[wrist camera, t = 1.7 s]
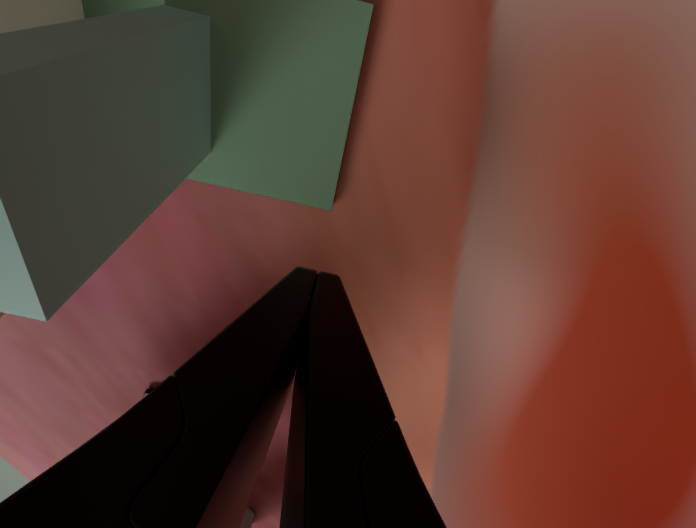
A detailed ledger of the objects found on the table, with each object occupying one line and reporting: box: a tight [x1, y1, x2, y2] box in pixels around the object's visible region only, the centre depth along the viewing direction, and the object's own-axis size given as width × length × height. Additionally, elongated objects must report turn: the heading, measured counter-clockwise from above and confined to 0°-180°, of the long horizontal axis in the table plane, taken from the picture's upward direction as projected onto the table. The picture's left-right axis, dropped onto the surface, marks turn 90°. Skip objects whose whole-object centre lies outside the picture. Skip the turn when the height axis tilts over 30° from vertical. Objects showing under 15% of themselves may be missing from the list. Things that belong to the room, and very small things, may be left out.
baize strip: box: [82, 0, 374, 211], centre depth 15 cm, size 8×26×1 cm, turn 79°
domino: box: [0, 5, 211, 321], centre depth 11 cm, size 5×2×10 cm, turn 169°
